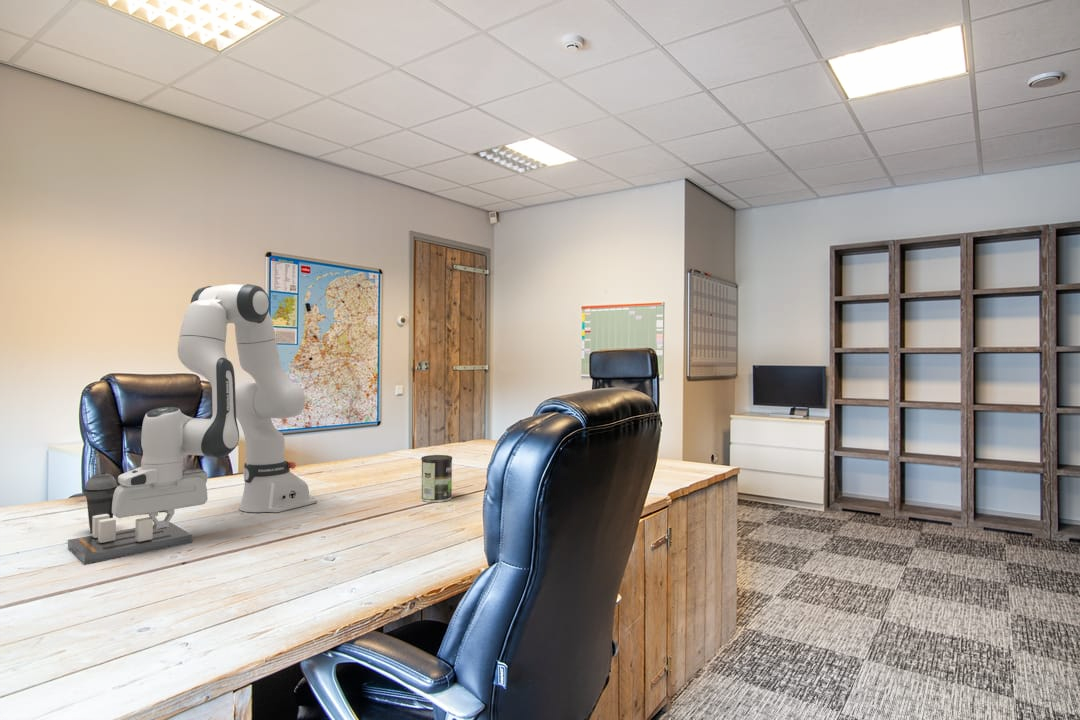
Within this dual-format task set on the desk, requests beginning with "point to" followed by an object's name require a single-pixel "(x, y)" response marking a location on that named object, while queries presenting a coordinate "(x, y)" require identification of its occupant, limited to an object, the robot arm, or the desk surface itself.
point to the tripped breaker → (144, 529)
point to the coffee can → (436, 478)
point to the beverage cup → (100, 494)
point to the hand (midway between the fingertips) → (161, 528)
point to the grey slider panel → (126, 544)
